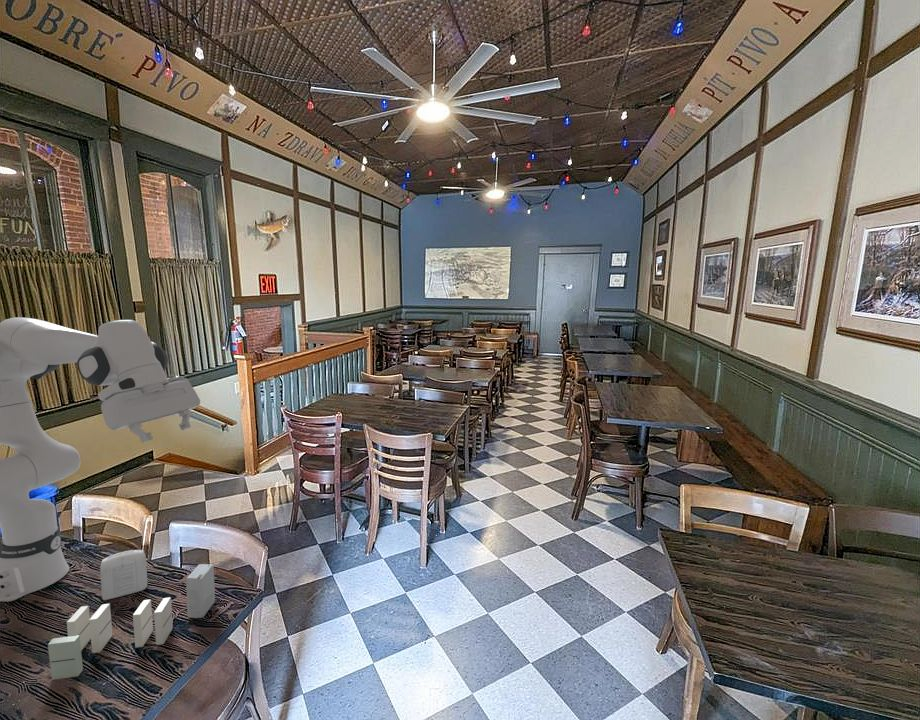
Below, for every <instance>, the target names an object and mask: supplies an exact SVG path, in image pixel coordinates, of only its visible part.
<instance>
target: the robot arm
mask: <svg viewBox="0 0 920 720" xmlns="http://www.w3.org/2000/svg"><path fill="white" fill-rule="evenodd" d="M74 363H76V365H77V370H78V373H79V375H80V376H81V378H82V379H83V380H84V381H85V382H86V383H88V384H90V385H92V386H95V387H100V386H101V387H102V386H103V387H105V386H106V387H105V388H103V389H101V390H100V391H99V392H98V393H97V396H98V399H99V400H100V401H102V403H101V404H100V409H101V415H102V417H103V419H104V422H105V425H106V427H107V428H108V429H110V430H111V431H118V430H121V429H124V428H129V430H130V432H131V433H133V434H134V435H136V436H137V437H139V439H140V442H141V443H142V444H145V443H147V442H150V441H152V440H154V439H153V436H152V433H151V431H149V432H146V431H145V430H143V429H142V427H143V424H144V423H147V422H151V421H155V420H158V419H161V418H165V417H169V416H173V415H177V414H178V415H179V417H180V418H182V419H181V423H179V424H178V426H179V428H180V430H181V431H185V430H187V429H190V428H191V427H192V425H191V422H190V417H191V410H194V409H196V408H198V407H199V406H201V405H200V403H201V398H200V397H199V396H198V393H197V392H196V390H195V389H194V387H193V386H192V384H191V382H190V380H189V379H188V378H186V377H183V376H181V375H177V376H174V377H173V376H172V377H167V375H166V373H165V371H166V369H167V366H168V363H169V358H168V354H167V353H166V351H165V350H164V349H163V348H162V347H161V345H159V344H157V343H156V342H153V341H151V339H150V337H149V335H148V334H147V331H146V329H144V327H143V326H142V325H141V323H140V322H138V321H137V320H133V319H118V320H111V321H108V322H104V323H103V324H101V325H99V327H98V333H97V334H93V333H91V332H90V333H89V332H86V331H80V330H77V329H73V328H70V327H66V326H62V325H59V324H57V323H52V322H50V321H46V320H41V319H38V318H34V317H33V318H32V317H11V318H7V319H4V320H2V321H1V322H0V445H1V446H2V445H3V446H8V447H10V448H12V449H13V450H14V452H15V455H11V456H7V457H3V458H0V532H1V538H2V539H0V602H12V601H15V600H18V599H20V598H22V597H23V596H26V595H28V594H31V593H34V592H36V591H39V590H42V589H45V588H47V587H49V586H50V585H53V584H55V583H56V582H58V581H60V580H61V579H62V578H64V577H65V576H66V575H67V574H68V572H69V571H70V566H69V564H68V562H67V561H66V559H65V556H64V554H63V551H62V547H61V543H62V542H61V541H62V540H61V539H62V538H61V530H60V527H59V526H58V520H57V519H58V518H57V511H56V509H57V508H56V506H55V504H54V503H53V502H51V501H49V500H47V499H42V498H30V495H29V494H30V492H31V491H33V490H35V489H36V490H37V489H39V488H43V487H45V486H48V485H50V484H54V483H56V482H60V481H61V480H63V479H66V478H68V477H69V476H71V475H73V474H75V473H76V472H77V471H78V470H79V469H80V467H81V462H82V461H81V460H82V458H81V457H82V456H81V454H80V453H79V450H77V449H76V448H75V447H74V446H72V445H69V444H66V443H64V442H63V443H62V442H59V441H58V440H56V439H54V438H52V437H51V436H50V435H49V434H47V433H46V431H44V429H43V428H42V426H41V425H40V422H39V421H38V420H39V419H38V417H37V416H36V415H37V414H36V413H35V409H34V406H33V403H32V400H31V396H30V395H29V392H28V390H27V389H28V388H27V386H26V384H27V381H28V380H29V379H30V378H31V377H32V378H33V379H35V380H38V381H39V380H40V379H42V378H43V377H44V376H46V375H49V374H50V373H53V372H54V371H56V370H57V369H58V368H59V366H61V365H65V364H66V365H67V364H74Z"/></svg>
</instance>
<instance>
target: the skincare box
mask: <svg viewBox="0 0 920 720" xmlns="http://www.w3.org/2000/svg"><path fill="white" fill-rule="evenodd" d="M214 566H215V564H213V563H212V564H207V563H205V564H203V563H201V564H200V563H199V564H198V565H197V566H196V567H195V568H194V569H193V570H192V571H191V573H189V575H188V576H187V577H186V579H185V580H186V583H185V584H186V604H187V605H186V608H187V618H192V619H202V618H204V617H205V615H206V614H207V613H208V611H209V610H210V609H211V608H212V606H213V605H214V604H215V602H216V595H215V594H216V592H215V590H216V589H215V567H214Z"/></svg>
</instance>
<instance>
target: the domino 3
mask: <svg viewBox="0 0 920 720" xmlns="http://www.w3.org/2000/svg"><path fill="white" fill-rule="evenodd" d="M152 610H153V609H152V599H144V600H142V602H141V603H140V604H139V605H138V607H137V609H136V610H135V611H134V613H133V614H132V624H133V634H134V637H133V638H134V645H135V646H134V648H136V649H137V648H143V647H144V646H145V644H146V642H147V641H148V639H149V638H150V636H151V635H152V633H153V631H154V624H153V613H152V612H153V611H152Z"/></svg>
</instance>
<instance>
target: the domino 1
mask: <svg viewBox="0 0 920 720" xmlns="http://www.w3.org/2000/svg"><path fill="white" fill-rule="evenodd" d="M90 618H91V616H90V606H89V605H83V606H82V605H81V606H80V607H79V608H78V609H77V611H76V612H74V614H72V616H71V617H70V618H69V619H68V620H67V621H66V628H67V637H70V636H78V635H80V645H81V652H82V651H83V650H84V648H85V647H86V646H87V645H88V643H89V642H90V641H91V634H90V623H89V619H90Z"/></svg>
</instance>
